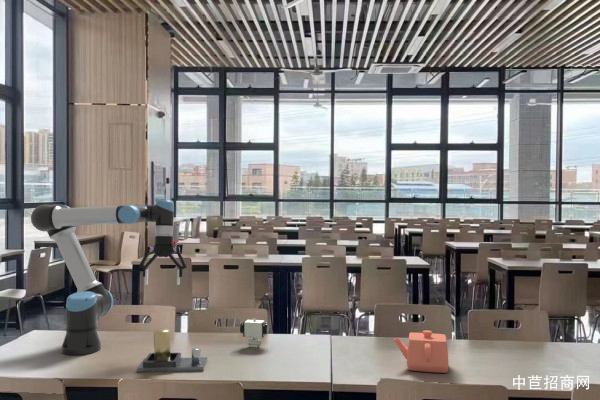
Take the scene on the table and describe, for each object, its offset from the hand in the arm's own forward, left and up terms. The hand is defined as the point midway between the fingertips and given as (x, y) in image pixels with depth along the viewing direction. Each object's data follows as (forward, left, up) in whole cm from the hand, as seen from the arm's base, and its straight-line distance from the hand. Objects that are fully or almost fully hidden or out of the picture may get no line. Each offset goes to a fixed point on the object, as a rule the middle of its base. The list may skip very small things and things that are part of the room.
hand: (162, 284), depth 232 cm
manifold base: (+10, -31, -26) cm, 42 cm away
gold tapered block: (+6, -31, -24) cm, 40 cm away
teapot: (+103, -37, -26) cm, 113 cm away
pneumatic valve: (+40, -5, -26) cm, 48 cm away
